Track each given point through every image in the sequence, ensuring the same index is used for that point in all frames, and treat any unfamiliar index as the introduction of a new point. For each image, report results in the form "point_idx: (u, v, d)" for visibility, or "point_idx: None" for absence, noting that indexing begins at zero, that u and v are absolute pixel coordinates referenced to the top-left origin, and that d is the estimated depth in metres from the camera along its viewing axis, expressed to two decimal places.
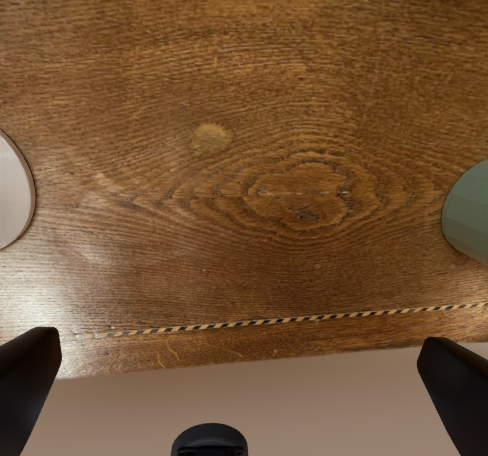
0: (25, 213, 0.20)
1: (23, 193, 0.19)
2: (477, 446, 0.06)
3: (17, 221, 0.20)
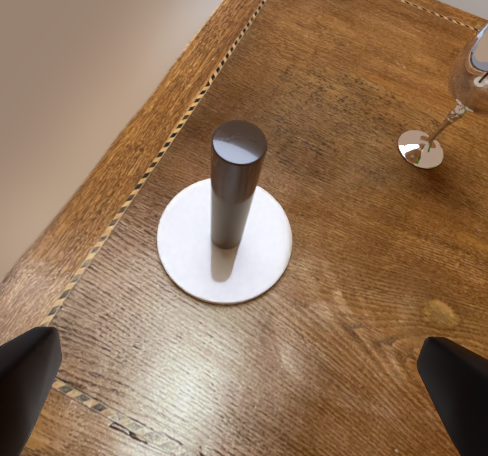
0: (266, 286, 0.21)
1: (277, 271, 0.21)
2: (477, 446, 0.06)
3: (254, 289, 0.21)
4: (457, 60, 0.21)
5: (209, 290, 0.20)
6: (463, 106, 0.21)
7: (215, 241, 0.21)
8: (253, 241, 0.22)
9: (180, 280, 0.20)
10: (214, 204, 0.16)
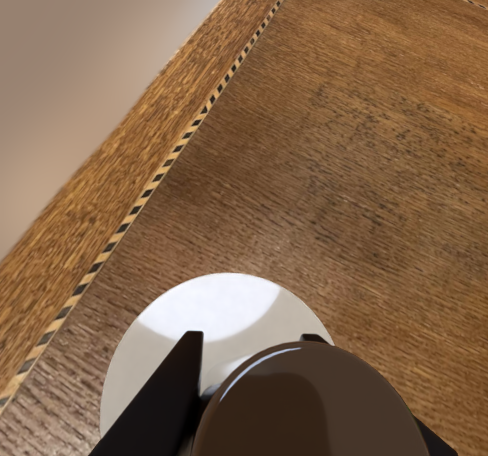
0: None
1: None
2: None
3: None
4: None
5: None
6: None
7: None
8: None
9: None
10: None
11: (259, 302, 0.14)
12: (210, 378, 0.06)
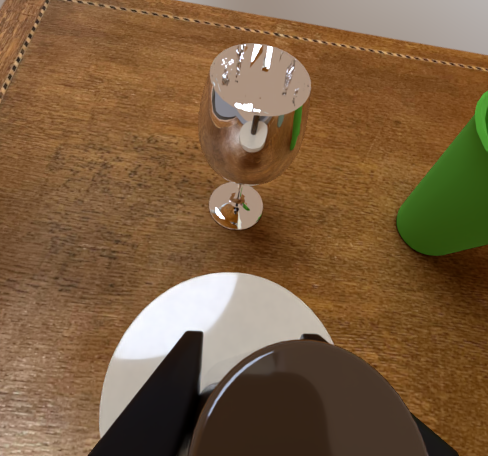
0: None
1: None
2: None
3: None
4: (198, 132, 0.16)
5: None
6: (229, 180, 0.17)
7: None
8: None
9: None
10: None
11: (259, 302, 0.14)
12: (209, 377, 0.06)
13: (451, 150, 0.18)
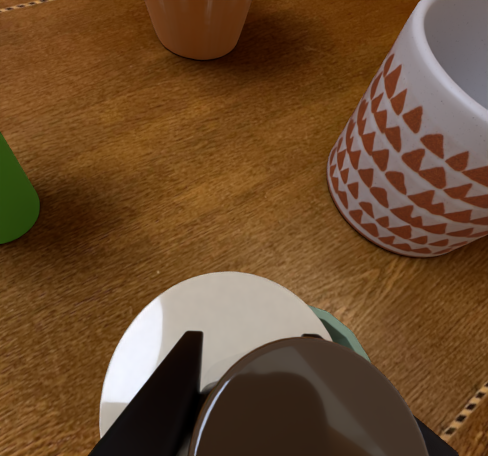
0: None
1: None
2: None
3: None
4: None
5: None
6: None
7: None
8: None
9: None
10: None
11: (259, 301, 0.14)
12: (209, 376, 0.06)
13: None
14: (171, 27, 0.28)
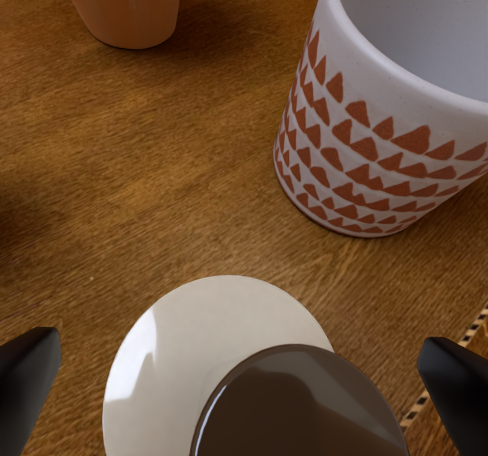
0: None
1: None
2: (477, 446, 0.06)
3: None
4: None
5: None
6: None
7: None
8: None
9: None
10: None
11: (258, 304, 0.14)
12: (210, 378, 0.06)
13: None
14: (95, 14, 0.26)
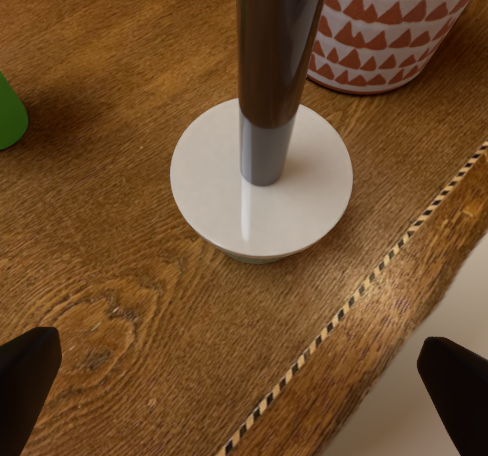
0: (324, 229, 0.15)
1: (336, 208, 0.16)
2: (477, 446, 0.06)
3: (309, 234, 0.15)
4: None
5: (247, 241, 0.15)
6: None
7: (248, 174, 0.15)
8: (299, 173, 0.16)
9: (207, 230, 0.15)
10: (246, 96, 0.11)
11: None
12: None
13: None
14: None
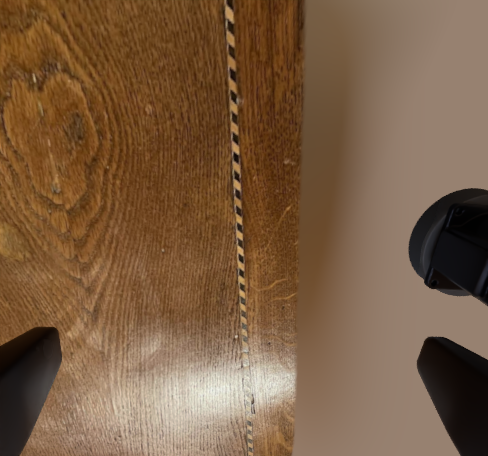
0: None
1: None
2: (477, 446, 0.06)
3: None
4: None
5: None
6: None
7: None
8: None
9: None
10: None
11: None
12: None
13: None
14: None
